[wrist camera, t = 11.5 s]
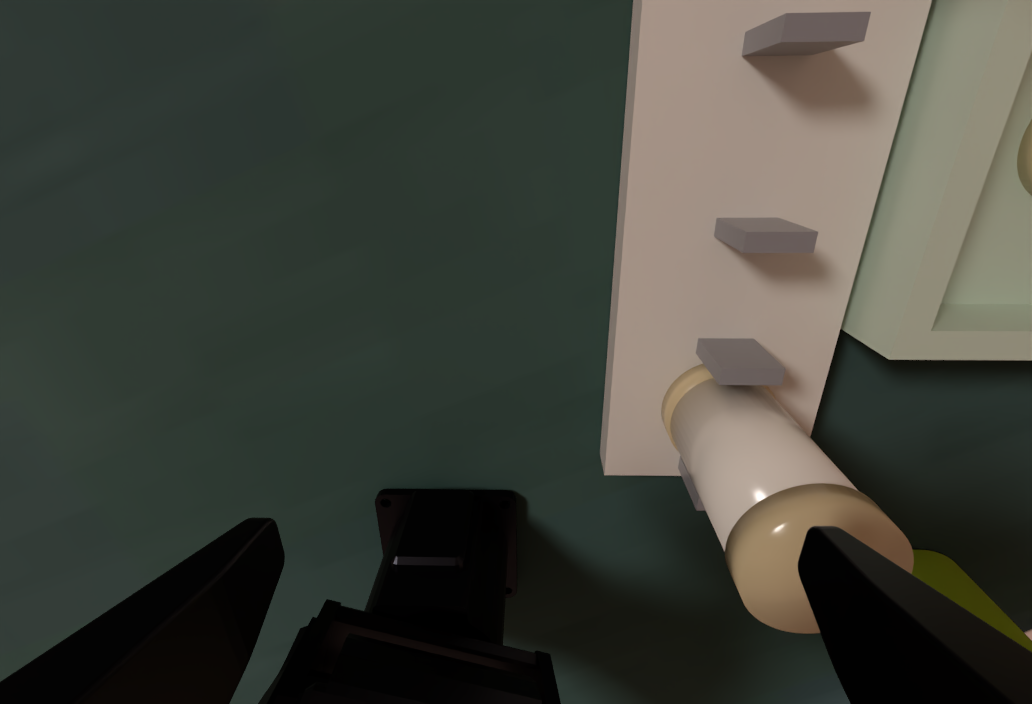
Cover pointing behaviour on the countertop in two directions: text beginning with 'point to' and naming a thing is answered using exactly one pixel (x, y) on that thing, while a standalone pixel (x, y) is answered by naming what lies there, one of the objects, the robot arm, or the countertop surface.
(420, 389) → the countertop surface
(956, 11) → the tray
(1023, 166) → the fuse marked
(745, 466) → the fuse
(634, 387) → the fuse holder
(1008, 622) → the soap dispenser
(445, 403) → the countertop surface
